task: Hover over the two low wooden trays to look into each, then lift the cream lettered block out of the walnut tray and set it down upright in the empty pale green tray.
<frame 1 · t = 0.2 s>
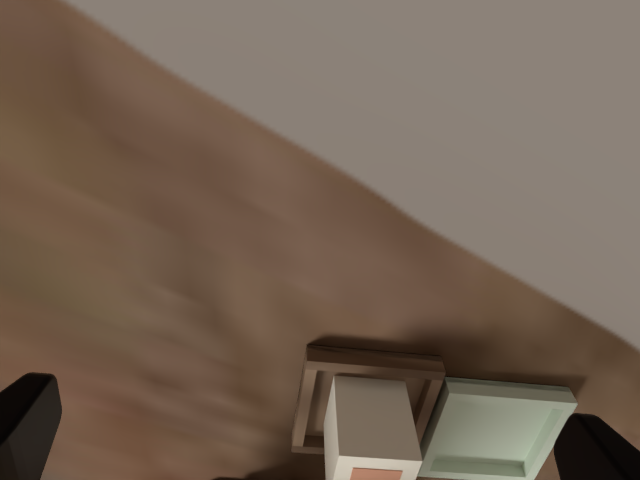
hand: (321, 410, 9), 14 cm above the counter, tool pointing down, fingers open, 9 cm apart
green tray: (487, 424, 31), on the counter
walnut tray: (362, 397, 30), on the counter
letter block: (363, 403, 29), resting on walnut tray
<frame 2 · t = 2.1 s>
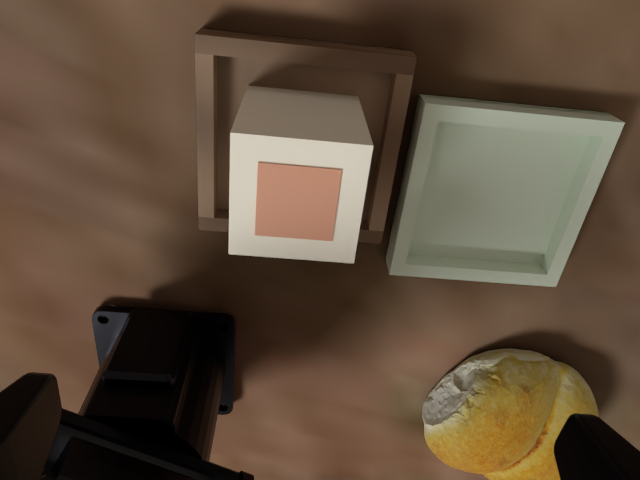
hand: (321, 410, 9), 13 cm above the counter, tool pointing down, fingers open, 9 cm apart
bread roll: (498, 398, 28), on the counter
green tray: (488, 191, 21), on the counter
walnut tray: (299, 139, 20), on the counter
letter block: (298, 143, 20), resting on walnut tray
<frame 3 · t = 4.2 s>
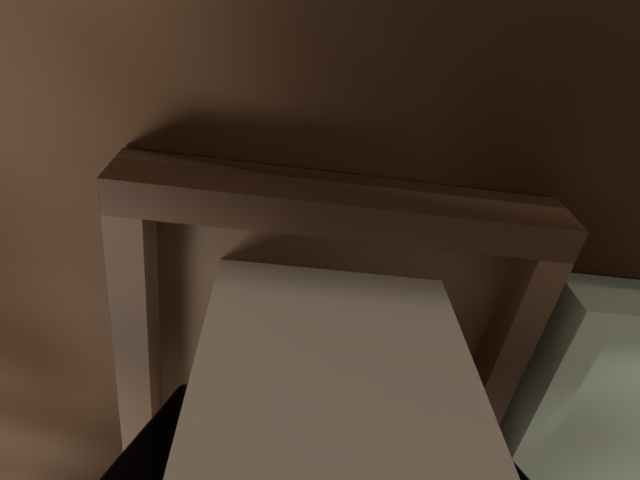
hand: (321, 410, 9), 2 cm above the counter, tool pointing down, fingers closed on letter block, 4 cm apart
walnut tray: (318, 339, 11), on the counter
letter block: (318, 353, 10), resting on walnut tray, touching gripper
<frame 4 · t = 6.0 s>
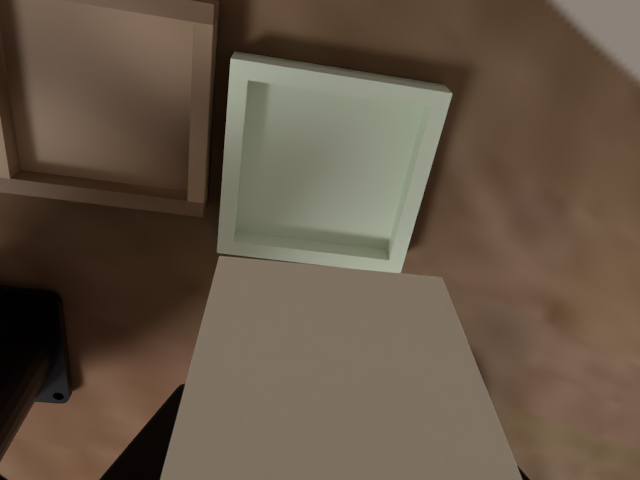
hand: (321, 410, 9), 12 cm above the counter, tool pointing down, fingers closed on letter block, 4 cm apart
green tray: (324, 166, 20), on the counter
walnut tray: (106, 96, 18), on the counter
letter block: (318, 350, 10), point 11 cm above the counter, touching gripper
when the fingers open (3 cm above the counter, at t = 8.0 s): letter block drops 1 cm, resting on green tray.
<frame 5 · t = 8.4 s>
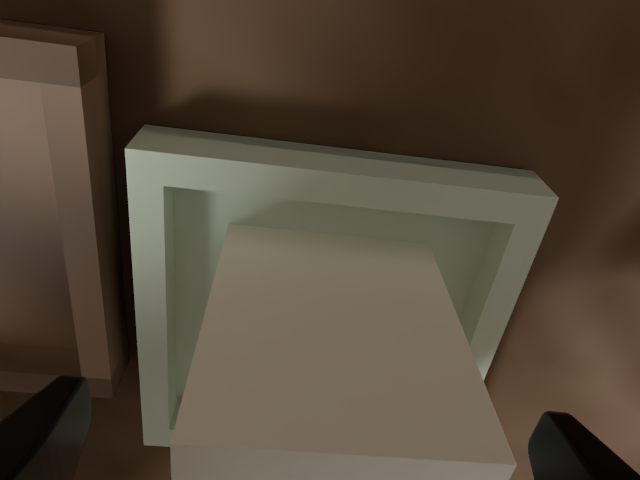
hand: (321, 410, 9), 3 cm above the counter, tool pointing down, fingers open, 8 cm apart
green tray: (319, 303, 12), on the counter
letter block: (317, 312, 11), resting on green tray
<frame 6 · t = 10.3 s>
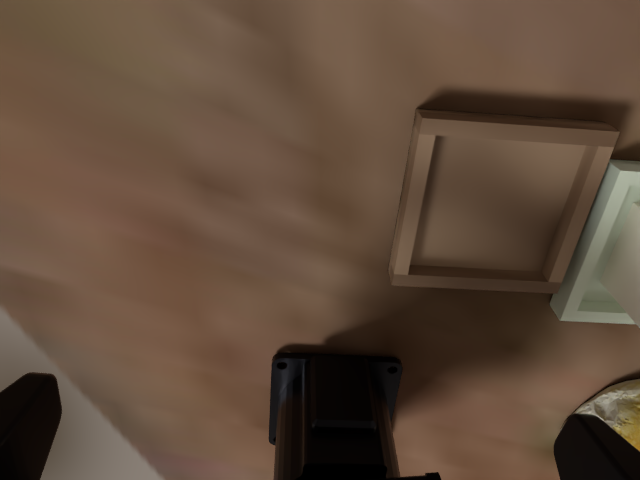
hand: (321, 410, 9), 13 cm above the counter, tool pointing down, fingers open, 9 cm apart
bread roll: (628, 423, 30), on the counter
walnut tray: (487, 201, 22), on the counter
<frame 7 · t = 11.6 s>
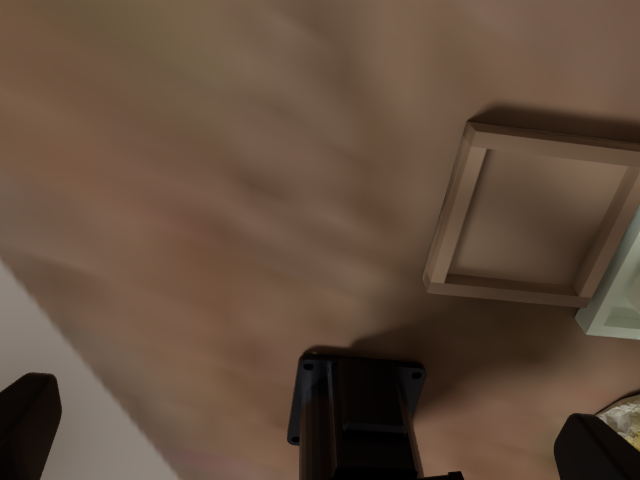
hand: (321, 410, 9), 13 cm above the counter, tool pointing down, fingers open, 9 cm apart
bread roll: (635, 435, 30), on the counter
walnut tray: (526, 215, 22), on the counter
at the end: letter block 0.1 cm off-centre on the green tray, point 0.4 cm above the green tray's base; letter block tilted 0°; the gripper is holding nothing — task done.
